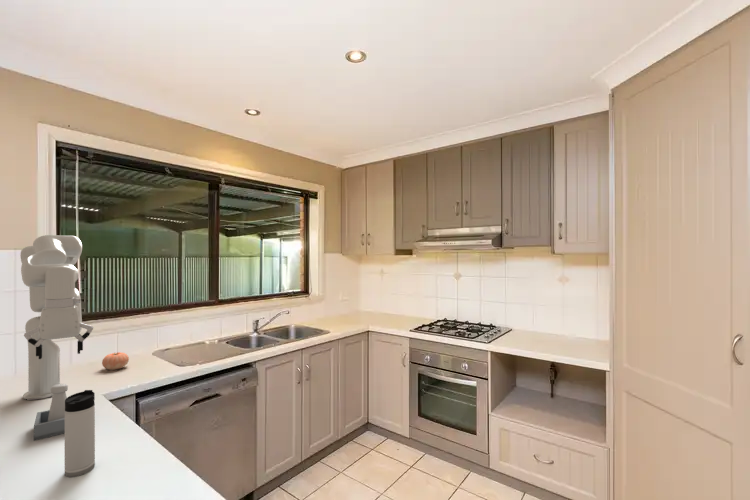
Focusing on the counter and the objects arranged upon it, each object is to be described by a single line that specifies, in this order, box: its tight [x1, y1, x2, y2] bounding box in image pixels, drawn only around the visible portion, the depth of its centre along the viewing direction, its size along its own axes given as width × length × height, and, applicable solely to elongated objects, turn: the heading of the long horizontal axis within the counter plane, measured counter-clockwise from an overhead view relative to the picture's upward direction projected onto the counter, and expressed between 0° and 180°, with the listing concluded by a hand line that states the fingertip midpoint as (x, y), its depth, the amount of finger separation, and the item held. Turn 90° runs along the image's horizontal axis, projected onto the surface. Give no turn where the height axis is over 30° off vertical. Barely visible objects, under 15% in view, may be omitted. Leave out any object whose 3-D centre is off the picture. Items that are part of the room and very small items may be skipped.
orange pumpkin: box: [101, 351, 130, 371], centre depth 181 cm, size 11×11×8 cm
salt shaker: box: [48, 383, 69, 422], centre depth 121 cm, size 6×6×13 cm
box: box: [33, 409, 65, 441], centre depth 121 cm, size 12×12×4 cm
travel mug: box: [64, 389, 96, 478], centre depth 98 cm, size 6×7×20 cm
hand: (60, 355), depth 122 cm, fingers open, 9 cm apart
